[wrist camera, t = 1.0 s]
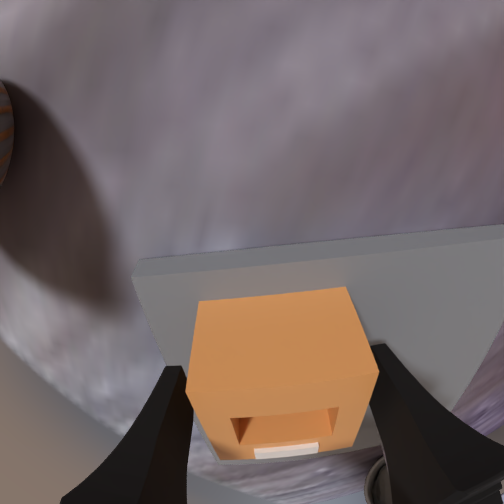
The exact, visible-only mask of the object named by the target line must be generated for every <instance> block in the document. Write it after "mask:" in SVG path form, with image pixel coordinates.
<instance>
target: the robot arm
mask: <svg viewBox="0 0 504 504" xmlns="http://www.w3.org/2000/svg"><path fill="white" fill-rule="evenodd" d="M370 348H371V351H372V353H373V356H374V359H375V361H376V364H377V367H378V370H379V374H378V377H377V380H376V383H375V386H374V389H373V392H372V395H371V398H370V401H369V405H370V408H371V411H372V414H373V417H374V420H375V423H376V426H377V429H378V432H379V435H380V438H381V441H382V444H383V448H384V451H385V456H386V461H387V467H388V473H389V479H390V486H391V495H392V504H504V493H502V494H500V491H499V490H500V489H502V484H501V481H502V480H503V479H504V446H503V445H501V444H499V443H497V442H495V441H493V440H491V439H489V438H487V437H486V436H484V435H482V434H480V433H479V432H477V431H476V430H474V429H473V428H471V427H470V426H468V425H467V424H465V423H464V422H463V421H461V420H460V419H459V418H457V417H456V416H455V415H453V414H452V413H451V412H450V411H449V410H447V409H446V408H445V407H444V406H443V405H442V404H441V403H439V402H438V401H437V400H436V399H435V398H434V397H433V396H432V395H431V394H430V393H429V392H428V391H427V390H426V389H425V388H424V387H423V386H422V385H421V384H420V383H419V381H418V380H417V379H416V378H415V377H414V376H413V375H412V374H411V373H410V372H409V370H408V369H407V368H406V367H405V366H404V365H403V364H402V362H401V361H400V360H399V359H398V358H397V356H396V355H395V354H394V353H393V352H392V350H391V349H390V348H389V347H388V346H387V344H385V343H383V344H378V345H372V346H370ZM186 384H187V377H186V375H185V372H184V370H183V368H182V365H178V366H166V367H165V368H164V370H163V372H162V374H161V376H160V378H159V380H158V382H157V384H156V386H155V388H154V389H153V391H152V393H151V395H150V397H149V398H148V400H147V402H146V404H145V405H144V407H143V409H142V410H141V412H140V414H139V415H138V417H137V418H136V420H135V421H134V423H133V424H132V426H131V428H130V429H129V431H128V432H127V433H126V435H125V436H124V437H123V439H122V440H121V441H120V443H119V444H118V445H117V447H116V448H115V449H114V450H113V451H112V452H111V454H110V455H109V456H108V457H107V458H106V459H105V460H104V462H103V463H102V464H101V465H100V466H99V467H98V468H97V469H96V470H95V471H94V472H93V473H91V474H90V475H89V476H88V477H87V478H86V479H85V480H84V481H83V482H82V483H80V484H79V485H78V486H77V487H75V488H74V489H73V490H71V491H70V492H69V493H68V494H66V495H65V496H63V497H62V499H61V501H60V504H187V486H186V485H187V484H186V483H187V479H186V478H187V463H188V456H189V448H190V441H191V434H192V426H193V418H194V409H193V407H192V405H191V403H190V400H189V398H188V396H187V394H186Z"/></svg>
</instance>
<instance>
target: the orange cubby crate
mask: <svg viewBox="0 0 504 504" xmlns="http://www.w3.org/2000/svg"><path fill="white" fill-rule="evenodd" d="M378 374H379V370H378V367H377V364H376V361H375V359H374V356H373V353H372V351H371V348H370V345H369V343H368V340H367V338H366V335H365V333H364V330H363V327H362V325H361V322H360V320H359V317H358V315H357V312H356V310H355V307H354V305H353V303H352V300H351V298H350V295H349V293H348V291H347V288H346V287H338V288H330V289H321V290H312V291H304V292H294V293H285V294H275V295H265V296H255V297H244V298H233V299H221V300H209V301H199V304H198V310H197V316H196V323H195V329H194V335H193V342H192V349H191V356H190V363H189V370H188V377H187V384H186V394H187V396H188V398H189V400H190V403H191V405H192V407H193V409H194V411H195V413H196V415H197V417H198V419H199V421H200V423H201V425H202V427H203V429H204V431H205V433H206V435H207V437H208V439H209V440H210V442H211V444H212V446H213V448H214V450H215V452H216V454H217V455H218V457H219V459H220V460H243V459H269V458H280V457H290V456H299V455H307V454H314V453H318V452H324V451H330V450H336V449H342V448H347V447H352V445H353V443H354V441H355V438H356V436H357V433H358V431H359V428H360V426H361V423H362V420H363V418H364V415H365V412H366V409H367V407H368V404H369V401H370V398H371V395H372V392H373V389H374V386H375V383H376V380H377V377H378Z"/></svg>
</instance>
